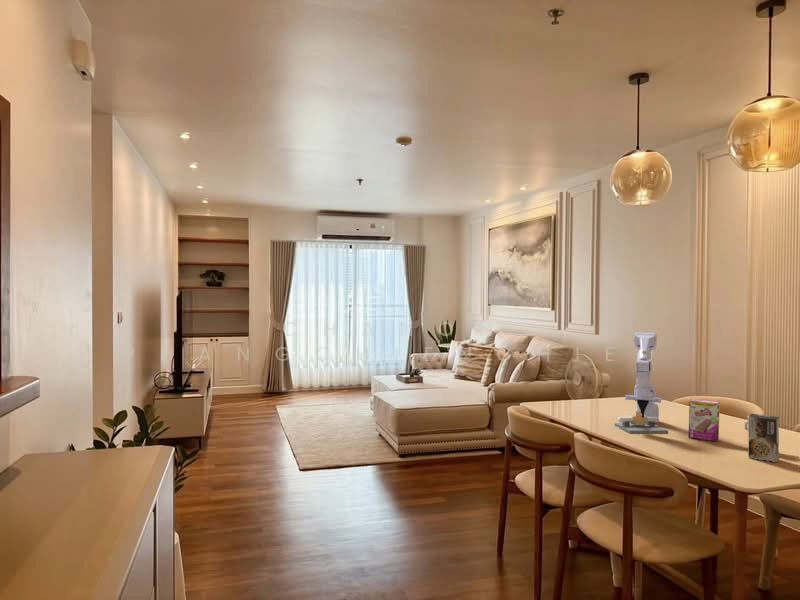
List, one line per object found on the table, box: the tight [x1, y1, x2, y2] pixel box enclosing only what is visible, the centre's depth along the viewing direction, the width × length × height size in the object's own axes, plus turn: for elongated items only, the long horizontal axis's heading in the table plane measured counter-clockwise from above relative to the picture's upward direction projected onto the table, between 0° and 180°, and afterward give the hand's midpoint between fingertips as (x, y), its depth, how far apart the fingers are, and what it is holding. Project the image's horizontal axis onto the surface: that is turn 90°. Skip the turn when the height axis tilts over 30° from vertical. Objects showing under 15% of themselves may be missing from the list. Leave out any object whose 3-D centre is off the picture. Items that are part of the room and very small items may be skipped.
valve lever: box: [635, 410, 641, 419], centre depth 240 cm, size 12×2×2 cm, turn 156°
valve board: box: [614, 413, 669, 434], centre depth 242 cm, size 18×14×6 cm
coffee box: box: [747, 413, 780, 463], centre depth 199 cm, size 9×6×16 cm
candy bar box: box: [688, 398, 721, 443], centre depth 226 cm, size 11×5×16 cm, turn 56°
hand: (642, 417), depth 237 cm, fingers closed
